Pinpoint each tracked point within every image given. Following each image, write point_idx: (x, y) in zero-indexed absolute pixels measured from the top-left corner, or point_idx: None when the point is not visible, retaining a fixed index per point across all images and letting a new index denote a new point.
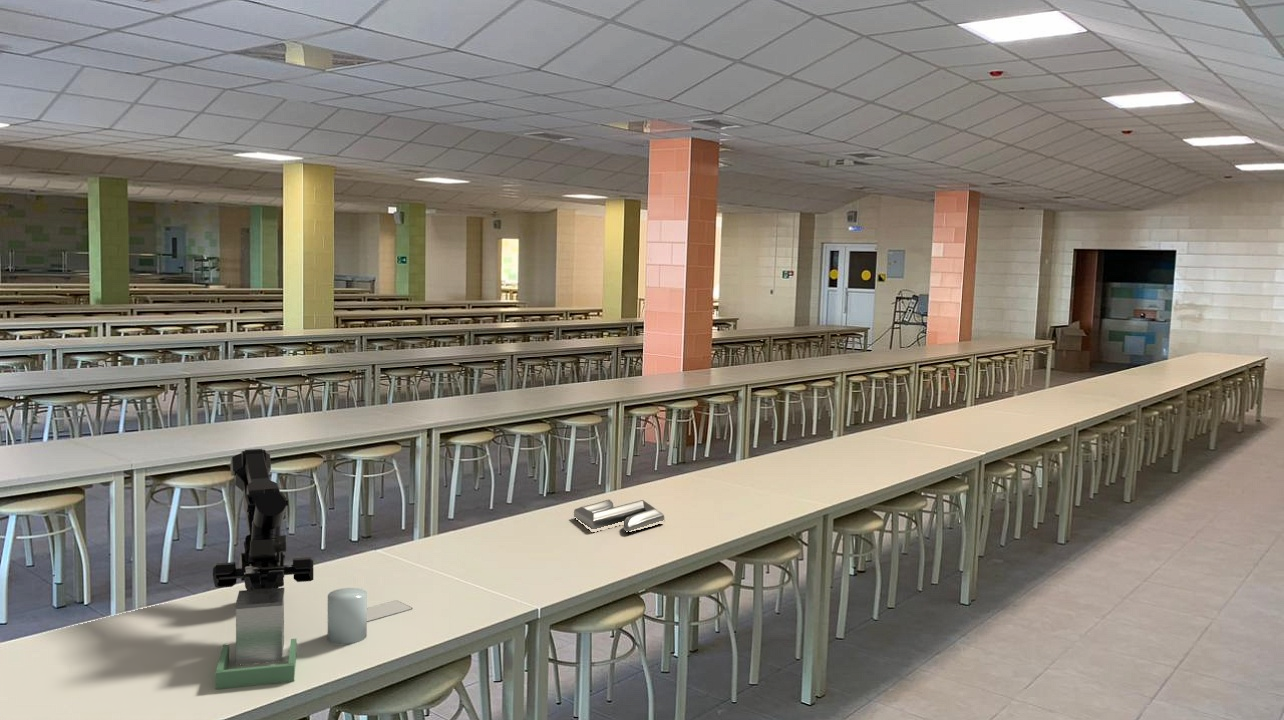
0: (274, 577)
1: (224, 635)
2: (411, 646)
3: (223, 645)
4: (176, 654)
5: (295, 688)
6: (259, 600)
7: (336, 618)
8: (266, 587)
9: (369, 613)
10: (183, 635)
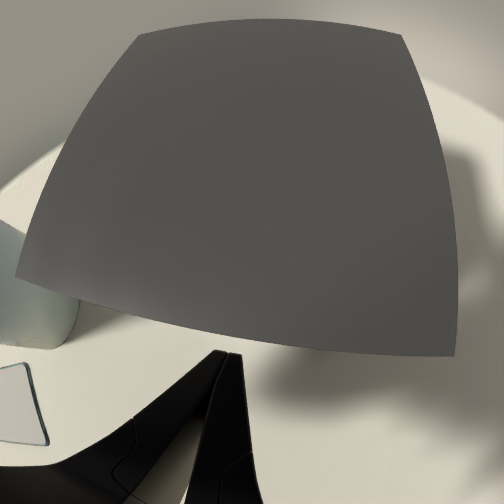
0: (22, 478)
1: (367, 475)
2: (6, 201)
3: None
4: (493, 352)
5: None
6: (251, 47)
7: (22, 239)
8: (138, 468)
9: (2, 409)
10: (461, 484)
